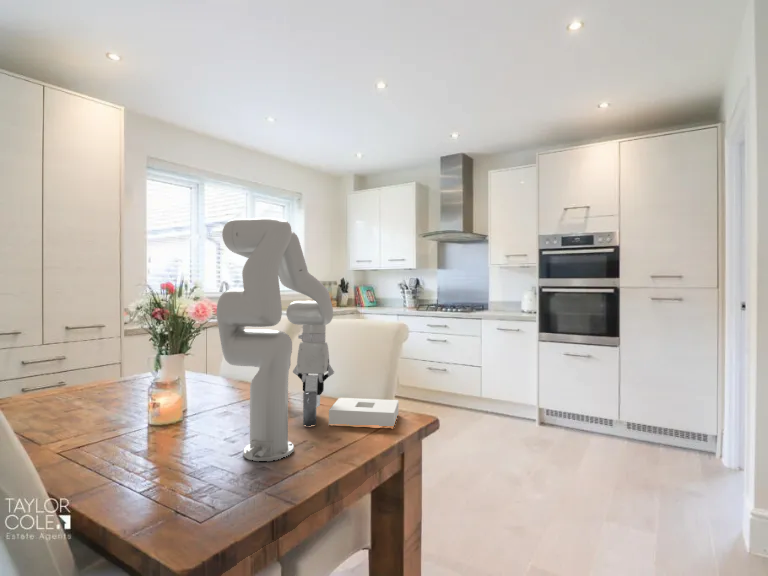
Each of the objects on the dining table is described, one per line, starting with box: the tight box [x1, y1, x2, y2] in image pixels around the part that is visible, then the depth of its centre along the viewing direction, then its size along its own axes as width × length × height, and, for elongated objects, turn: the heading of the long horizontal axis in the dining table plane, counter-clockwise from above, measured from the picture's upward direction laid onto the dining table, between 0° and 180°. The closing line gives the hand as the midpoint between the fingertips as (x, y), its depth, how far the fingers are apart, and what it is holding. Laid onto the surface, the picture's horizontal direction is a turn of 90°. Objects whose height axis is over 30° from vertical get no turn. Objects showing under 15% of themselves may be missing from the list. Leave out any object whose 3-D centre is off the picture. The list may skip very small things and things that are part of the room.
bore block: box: [328, 397, 399, 426], centre depth 138 cm, size 14×20×5 cm
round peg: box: [302, 391, 317, 426], centre depth 133 cm, size 4×4×10 cm
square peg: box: [305, 374, 321, 409], centre depth 143 cm, size 4×4×10 cm
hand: (313, 393), depth 143 cm, fingers closed on square peg, 4 cm apart
